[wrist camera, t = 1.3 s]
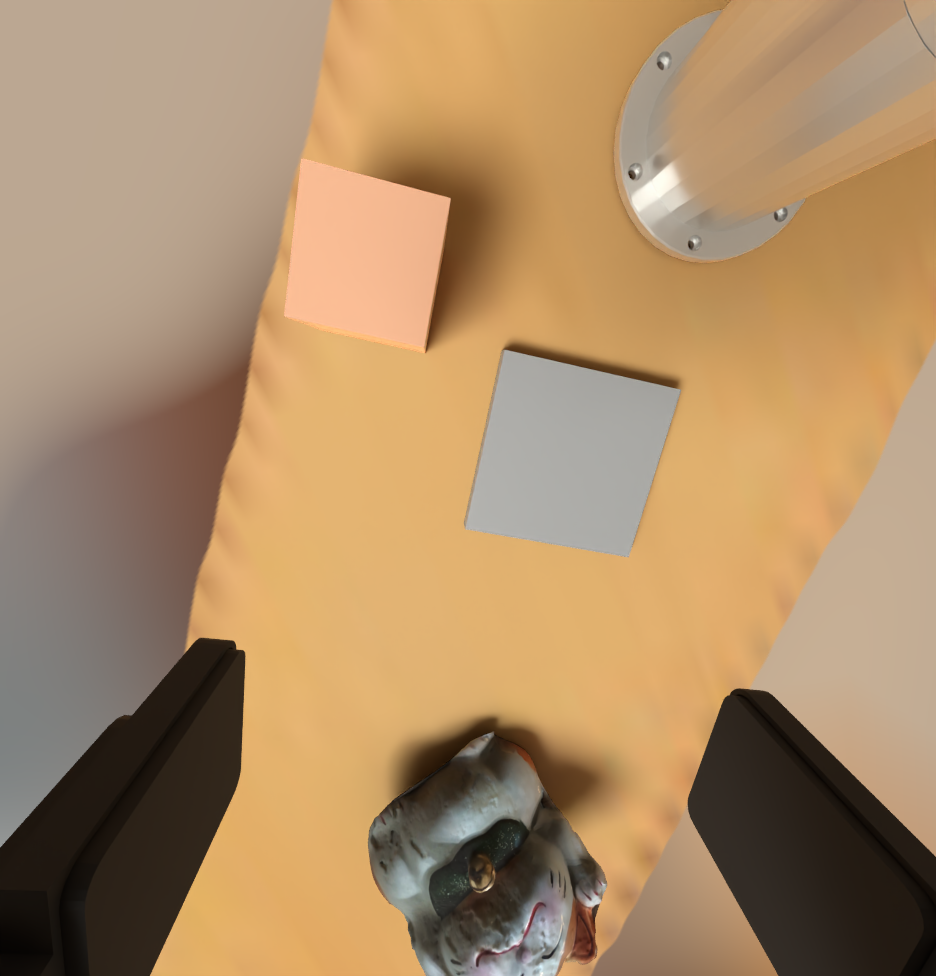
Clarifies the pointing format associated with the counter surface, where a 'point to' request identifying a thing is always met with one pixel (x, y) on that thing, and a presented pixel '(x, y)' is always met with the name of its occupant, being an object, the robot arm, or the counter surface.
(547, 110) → the counter surface
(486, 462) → the slate board
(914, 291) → the counter surface
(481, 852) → the lucky cat figurine
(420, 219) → the peach rectangular block
